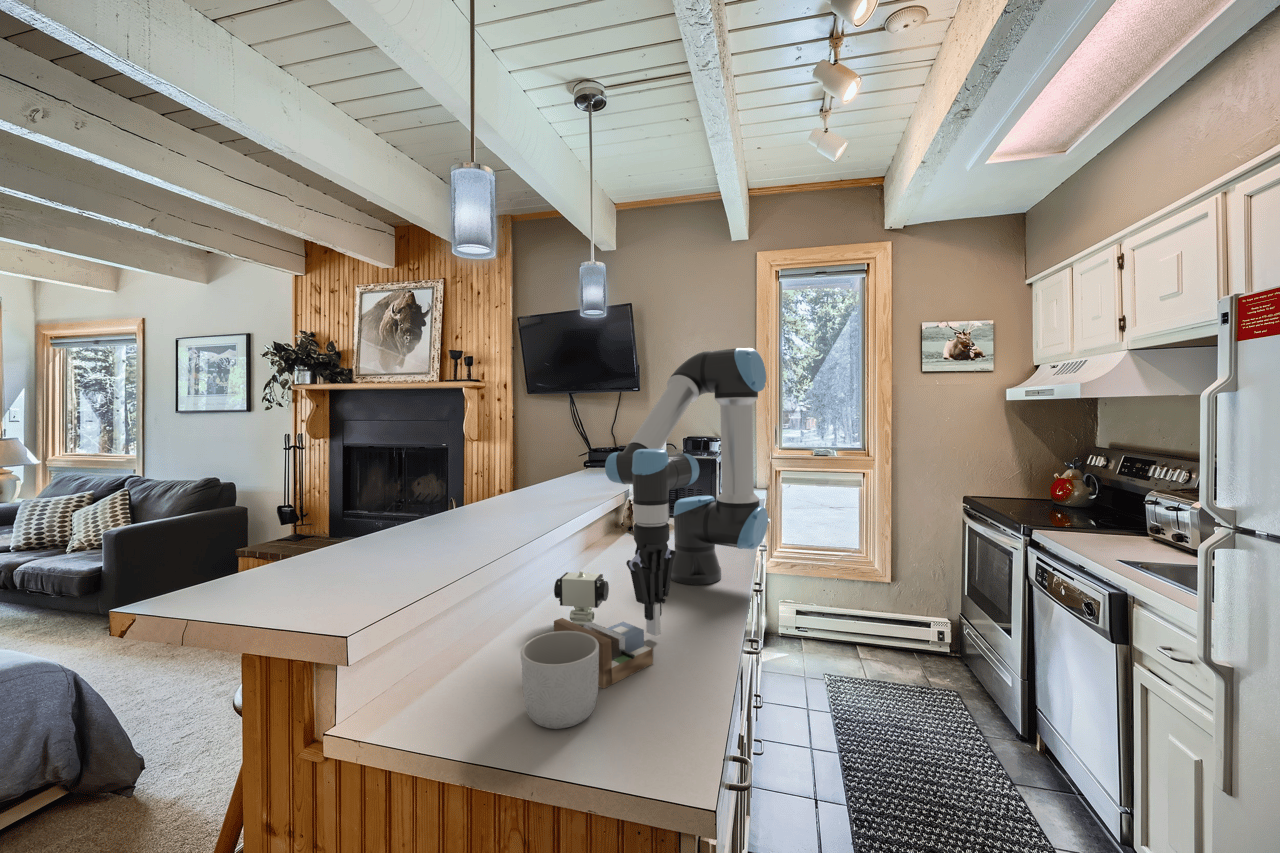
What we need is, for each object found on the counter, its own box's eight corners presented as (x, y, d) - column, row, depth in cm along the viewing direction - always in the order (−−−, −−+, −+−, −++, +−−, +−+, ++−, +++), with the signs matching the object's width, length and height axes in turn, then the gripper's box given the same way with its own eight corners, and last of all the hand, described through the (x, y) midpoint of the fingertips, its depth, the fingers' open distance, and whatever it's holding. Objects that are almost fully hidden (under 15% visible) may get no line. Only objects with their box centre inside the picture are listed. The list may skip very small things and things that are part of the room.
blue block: (623, 645, 108) (623, 620, 108) (644, 654, 104) (643, 628, 104) (597, 656, 104) (597, 630, 103) (618, 667, 99) (617, 639, 99)
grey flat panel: (590, 650, 105) (589, 621, 105) (636, 673, 96) (636, 641, 95) (584, 653, 104) (583, 623, 104) (630, 676, 95) (630, 644, 94)
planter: (531, 746, 76) (529, 672, 76) (515, 703, 87) (514, 638, 87) (611, 724, 81) (610, 655, 81) (586, 686, 92) (585, 625, 92)
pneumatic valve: (604, 629, 116) (603, 575, 116) (554, 625, 119) (553, 573, 118) (610, 619, 122) (609, 568, 121) (562, 616, 124) (561, 566, 124)
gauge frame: (603, 640, 110) (602, 603, 110) (653, 663, 100) (652, 622, 100) (554, 661, 102) (553, 620, 101) (603, 688, 91) (602, 643, 91)
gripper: (659, 515, 117) (661, 619, 118) (616, 525, 108) (618, 637, 109) (685, 519, 112) (687, 628, 113) (641, 530, 103) (644, 649, 103)
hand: (653, 633), depth 111 cm, fingers closed
